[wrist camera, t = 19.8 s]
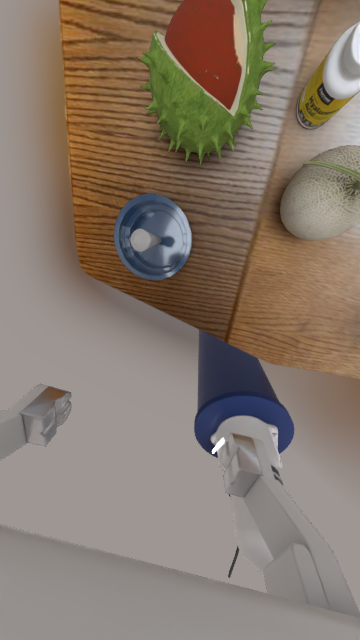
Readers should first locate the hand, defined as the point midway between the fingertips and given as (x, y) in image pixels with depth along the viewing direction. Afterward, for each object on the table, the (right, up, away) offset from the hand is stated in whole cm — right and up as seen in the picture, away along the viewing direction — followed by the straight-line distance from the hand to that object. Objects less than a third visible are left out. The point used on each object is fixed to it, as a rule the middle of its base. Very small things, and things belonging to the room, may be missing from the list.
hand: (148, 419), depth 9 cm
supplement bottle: (+21, +35, +17) cm, 44 cm away
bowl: (-2, +20, +26) cm, 33 cm away
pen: (-2, +20, +25) cm, 32 cm away
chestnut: (+5, +35, +19) cm, 40 cm away
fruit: (+22, +24, +22) cm, 39 cm away
